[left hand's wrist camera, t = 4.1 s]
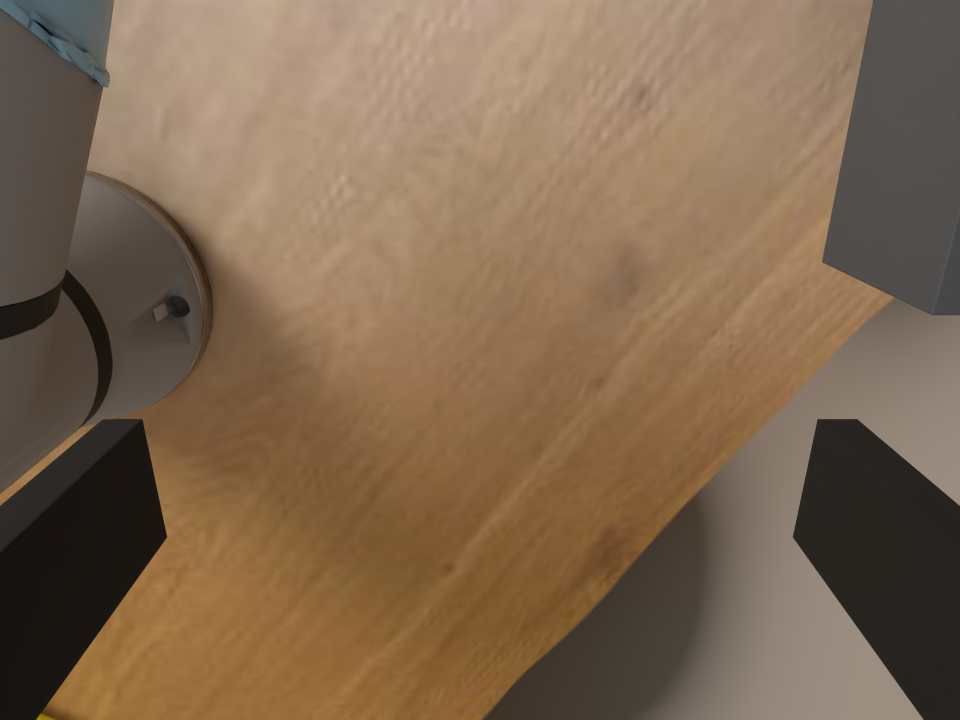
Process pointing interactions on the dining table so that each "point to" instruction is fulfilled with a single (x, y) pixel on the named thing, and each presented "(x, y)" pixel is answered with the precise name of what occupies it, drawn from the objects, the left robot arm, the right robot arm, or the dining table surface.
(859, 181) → the bar
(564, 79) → the dining table surface
